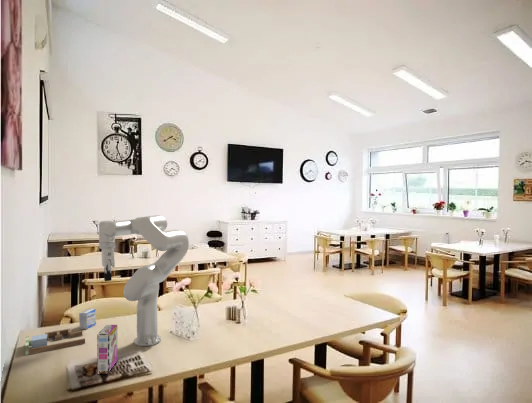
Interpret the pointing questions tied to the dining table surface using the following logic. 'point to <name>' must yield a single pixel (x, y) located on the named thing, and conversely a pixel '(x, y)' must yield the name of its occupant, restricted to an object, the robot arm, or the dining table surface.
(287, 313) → the dining table surface
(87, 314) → the medicine box
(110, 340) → the candy bar box
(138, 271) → the robot arm
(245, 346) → the dining table surface
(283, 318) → the dining table surface
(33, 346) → the block
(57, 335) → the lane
